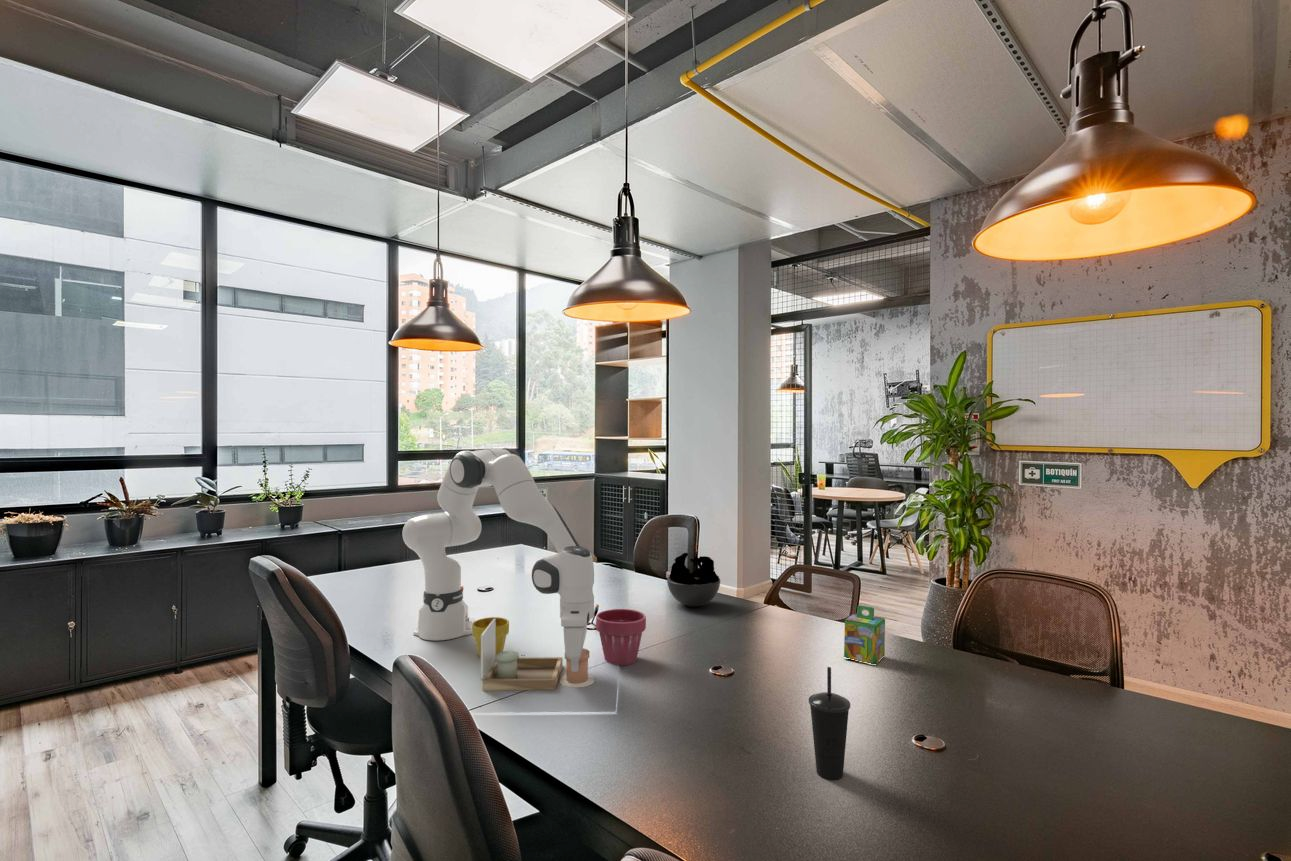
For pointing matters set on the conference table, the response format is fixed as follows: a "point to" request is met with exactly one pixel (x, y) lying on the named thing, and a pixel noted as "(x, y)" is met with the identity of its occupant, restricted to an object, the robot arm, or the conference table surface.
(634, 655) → the plant pot
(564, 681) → the cream disc
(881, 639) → the chalk box
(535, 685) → the brown wooden tray
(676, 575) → the coal bowl
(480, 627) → the plant pot
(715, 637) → the conference table surface
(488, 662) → the propped lid
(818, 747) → the drinking cup
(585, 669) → the peach mushroom knob
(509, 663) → the sage pot
